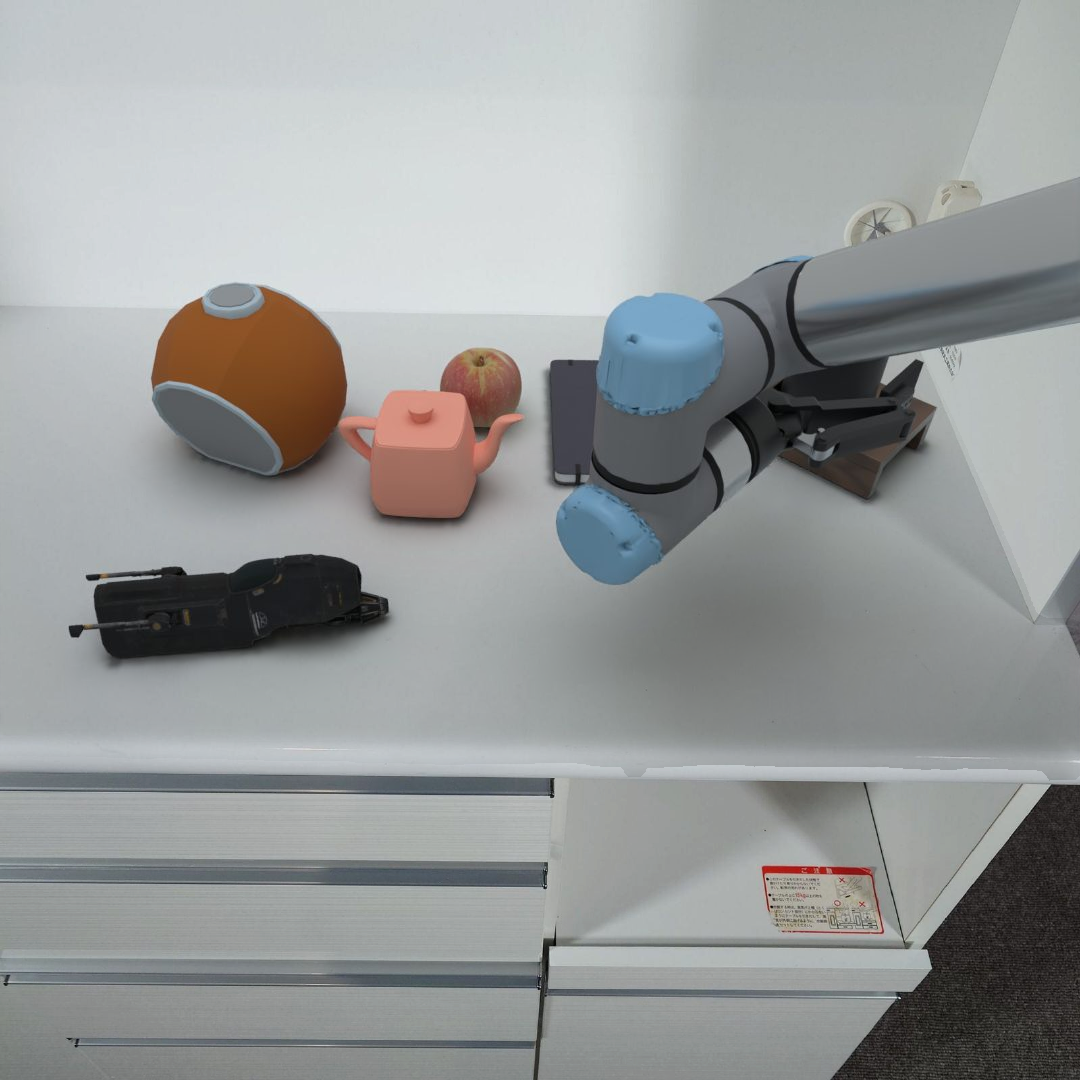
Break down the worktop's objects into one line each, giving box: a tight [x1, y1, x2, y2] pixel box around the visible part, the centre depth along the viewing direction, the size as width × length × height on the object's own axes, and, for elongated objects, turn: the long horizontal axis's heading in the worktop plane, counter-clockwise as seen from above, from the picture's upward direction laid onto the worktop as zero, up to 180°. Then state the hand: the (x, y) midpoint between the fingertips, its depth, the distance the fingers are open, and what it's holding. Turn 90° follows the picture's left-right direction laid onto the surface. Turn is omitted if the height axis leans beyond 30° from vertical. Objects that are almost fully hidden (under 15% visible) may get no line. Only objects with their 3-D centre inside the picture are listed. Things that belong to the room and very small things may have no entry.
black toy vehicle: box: [68, 553, 390, 659], centre depth 78 cm, size 7×25×8 cm, turn 96°
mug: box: [780, 357, 890, 420], centre depth 95 cm, size 9×12×9 cm
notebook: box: [549, 359, 599, 486], centre depth 103 cm, size 13×2×21 cm
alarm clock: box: [150, 281, 348, 476], centre depth 94 cm, size 19×18×17 cm
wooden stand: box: [771, 379, 938, 500], centre depth 100 cm, size 15×13×7 cm
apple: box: [439, 347, 523, 428], centre depth 101 cm, size 9×9×8 cm
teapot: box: [337, 389, 524, 519], centre depth 91 cm, size 12×18×10 cm, turn 88°
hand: (845, 344), depth 84 cm, fingers open, 13 cm apart
